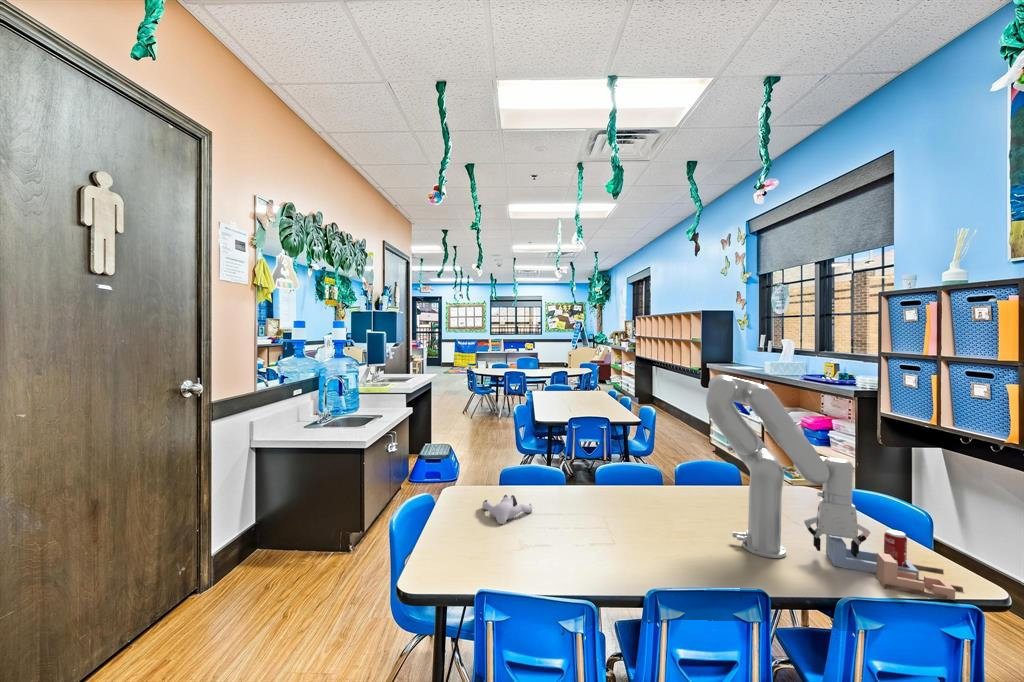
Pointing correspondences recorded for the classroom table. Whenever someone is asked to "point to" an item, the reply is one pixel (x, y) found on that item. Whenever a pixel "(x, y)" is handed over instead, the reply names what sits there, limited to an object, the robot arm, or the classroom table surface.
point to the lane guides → (923, 581)
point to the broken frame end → (940, 587)
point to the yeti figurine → (506, 509)
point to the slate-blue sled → (863, 560)
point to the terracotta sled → (896, 574)
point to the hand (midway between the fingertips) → (835, 552)
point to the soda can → (896, 546)
